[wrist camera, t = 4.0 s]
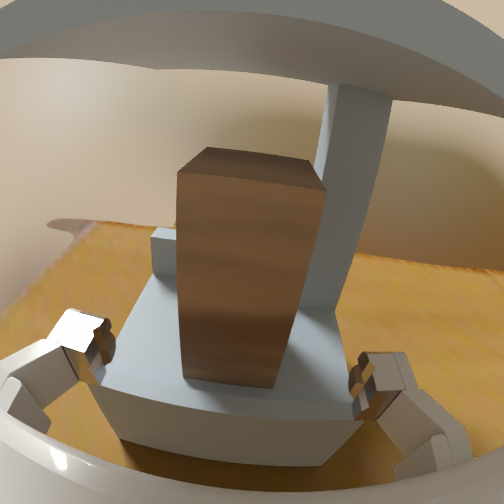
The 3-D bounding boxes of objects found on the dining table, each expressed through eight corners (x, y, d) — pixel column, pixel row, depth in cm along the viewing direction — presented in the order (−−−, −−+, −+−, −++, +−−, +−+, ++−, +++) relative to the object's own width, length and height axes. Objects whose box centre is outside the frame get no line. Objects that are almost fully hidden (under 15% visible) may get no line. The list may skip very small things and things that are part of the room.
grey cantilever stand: (329, 478, 14) (550, 80, 3) (107, 448, 13) (-3, 10, 3) (315, 339, 25) (385, 77, 14) (158, 318, 25) (159, 47, 14)
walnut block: (272, 389, 13) (327, 191, 8) (182, 377, 13) (177, 172, 8) (273, 328, 17) (308, 160, 12) (199, 317, 17) (207, 146, 12)
